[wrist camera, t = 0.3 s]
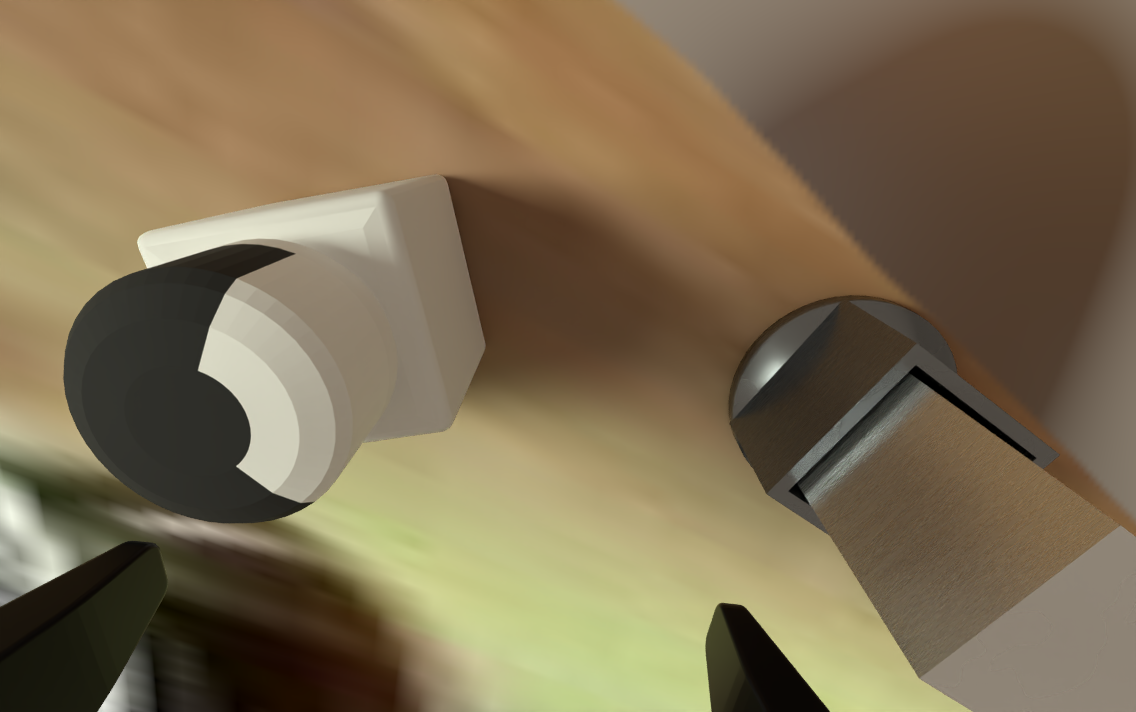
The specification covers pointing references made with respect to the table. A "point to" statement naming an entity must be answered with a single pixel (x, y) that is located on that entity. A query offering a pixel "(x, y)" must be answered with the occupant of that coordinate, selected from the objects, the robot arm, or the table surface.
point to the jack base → (843, 388)
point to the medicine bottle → (276, 348)
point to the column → (981, 560)
